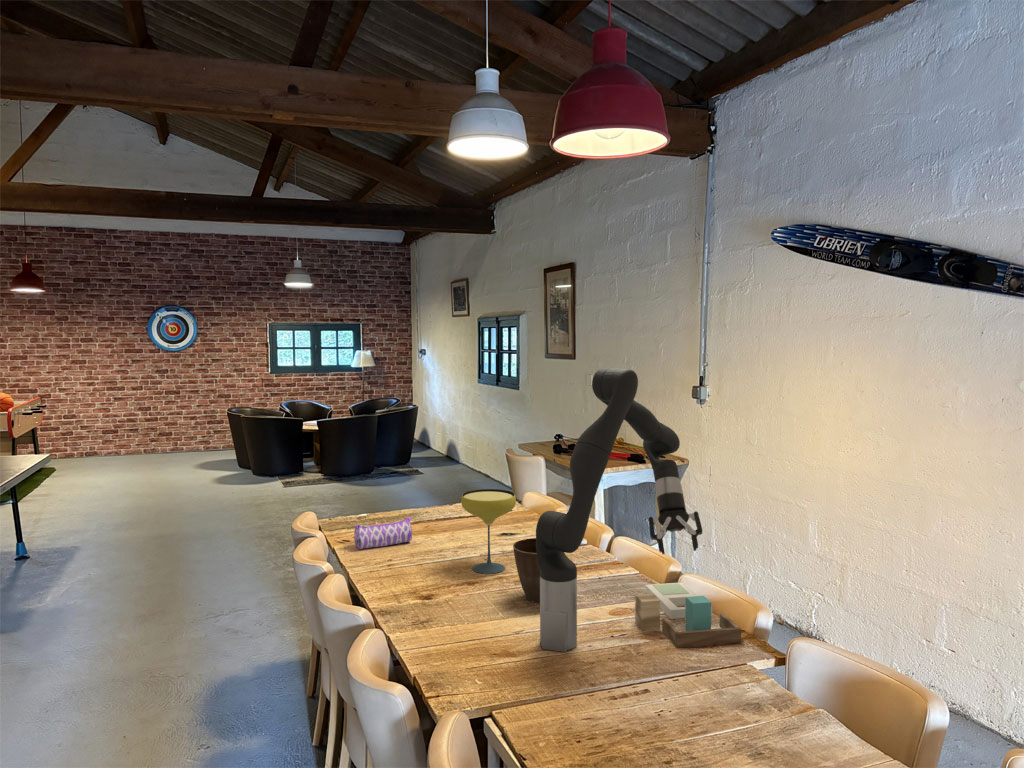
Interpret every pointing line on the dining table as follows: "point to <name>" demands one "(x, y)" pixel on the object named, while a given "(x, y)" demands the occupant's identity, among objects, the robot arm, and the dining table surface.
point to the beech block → (647, 612)
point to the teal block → (697, 613)
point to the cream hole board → (671, 597)
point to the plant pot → (528, 568)
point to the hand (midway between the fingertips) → (679, 551)
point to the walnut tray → (703, 634)
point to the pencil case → (383, 534)
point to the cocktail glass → (488, 516)
